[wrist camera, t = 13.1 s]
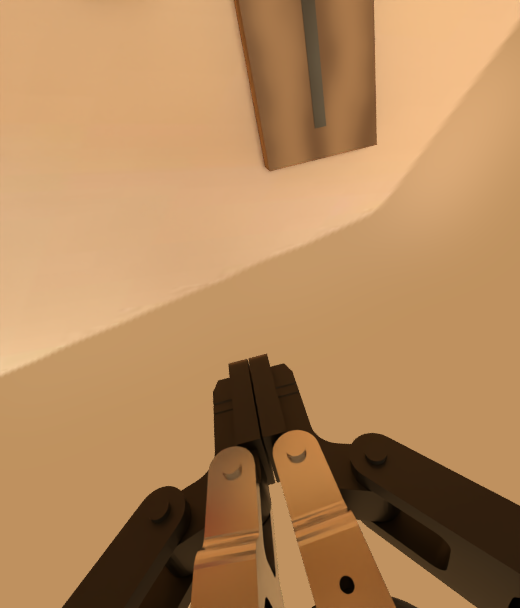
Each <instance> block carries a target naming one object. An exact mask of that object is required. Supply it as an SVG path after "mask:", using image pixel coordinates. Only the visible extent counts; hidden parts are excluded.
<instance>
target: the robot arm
mask: <svg viewBox="0 0 520 608" xmlns="http://www.w3.org/2000/svg"><path fill="white" fill-rule="evenodd" d="M249 364H250V366H249ZM229 375H230V378H227V379H223V380H219V381H218V382H217V384H216V387H215V389H214V391H213V404H214V435H215V436H214V437H215V457H214V459H213V460H212V462H211V464H210V467H209V470H208V472H207V473H206V474H205V475H204V476H203V477H202V478H201V479H199V480H198V481H196V482H195V483H193V484H191V485H190V486H188V487H186V488H185V489H184V490H182V491H180V490H179V489H178V488H175V487H172V486H166V487H162V488H159V489H157V490H155V491H153V492H152V493H151V494H149V495H148V496H147V497H146V499H145V500H144V501H143V502H142V503H141V505H140V506H139V507H138V509H137V510H136V511H135V512H134V514H133V515H132V516H131V518H130V519H129V520H128V522H127V523H126V524H125V526H124V527H123V528H122V530H121V531H120V532H119V534H118V535H117V536H116V537H115V539H114V540H113V541H112V543H111V544H110V545H109V547H108V548H107V549H106V551H105V552H104V553H103V555H102V556H101V557H100V558H99V560H98V561H97V563H96V564H95V565H94V566H93V568H92V569H91V571H90V572H89V573H88V574H87V576H86V577H85V578H84V580H83V581H82V582H81V583H80V585H79V586H78V588H77V589H76V590H75V591H74V593H73V594H72V595H71V597H70V598H69V599H68V601H67V602H66V603H65V605H64V606H63V607H62V608H188V606H189V604H190V602H191V607H190V608H284V603H283V597H282V592H281V588H280V582H279V574H278V564H277V554H276V544H275V533H274V523H273V513H272V508H271V498H270V493H269V487H268V485H270V484H274V483H275V480H274V475H273V471H274V474H275V477H276V481H277V482H281V486H282V489H283V493H284V496H285V500H286V503H287V507H288V510H289V514H290V517H291V521H292V524H293V528H294V532H295V535H296V539H297V542H298V546H299V549H300V553H301V556H302V560H303V563H304V567H305V570H306V574H307V577H308V581H309V584H310V588H311V591H312V595H313V598H314V601H315V606H313V607H312V608H417V607H415V606H413V605H411V604H409V603H408V602H405V601H403V600H400V599H397V598H394V597H391V596H390V593H389V591H388V589H387V587H386V584H385V582H384V580H383V578H382V576H381V573H380V571H379V569H378V567H377V565H376V562H375V560H374V558H373V556H372V553H371V551H370V549H369V547H368V544H367V542H366V540H365V538H364V536H363V533H362V531H361V529H360V527H359V525H358V523H357V520H361V521H362V522H363V523H364V524H365V525H366V526H367V527H369V528H370V529H372V530H373V531H374V532H375V533H377V534H378V535H379V536H381V537H382V538H384V539H385V540H386V541H388V542H389V543H390V544H392V545H393V546H394V547H396V548H397V549H398V550H400V551H401V552H403V553H404V554H405V555H407V556H408V557H409V558H411V559H412V560H413V561H415V562H416V563H417V564H419V565H420V566H422V567H423V568H424V569H426V570H427V571H428V572H430V573H431V574H432V575H434V576H435V577H436V578H438V579H439V580H441V581H442V582H443V583H445V584H446V585H447V586H449V587H450V588H451V589H453V590H454V591H456V592H457V593H458V594H460V595H461V596H462V597H464V598H465V599H466V600H468V601H469V602H470V603H472V604H473V605H475V606H476V607H477V608H520V506H519V505H517V504H515V503H513V502H511V501H510V500H508V499H506V498H504V497H502V496H500V495H498V494H496V493H494V492H492V491H490V490H488V489H487V488H485V487H482V486H480V485H479V484H477V483H475V482H473V481H471V480H469V479H467V478H465V477H463V476H462V475H460V474H458V473H456V472H454V471H451V470H450V469H448V468H446V467H444V466H442V465H440V464H438V463H437V462H435V461H433V460H431V459H429V458H427V457H425V456H423V455H421V454H419V453H417V452H415V451H414V450H411V449H410V448H408V447H406V446H404V445H402V444H400V443H398V442H396V441H394V440H392V439H390V438H388V437H386V436H384V435H381V434H376V433H368V434H364V435H361V436H359V437H358V438H356V439H355V440H354V441H353V443H352V444H338V443H331V442H328V441H325V440H323V439H321V438H320V437H318V436H317V435H316V434H315V433H314V431H313V430H312V427H311V425H310V422H309V419H308V416H307V413H306V410H305V407H304V405H303V402H302V399H301V396H300V393H299V390H298V387H297V384H296V381H295V378H294V375H293V372H292V371H291V370H290V369H289V368H288V367H287V366H286V365H285V364H280V365H276V366H272V367H270V364H269V360H268V357H267V354H264V355H260V356H256V357H252V358H249V362H248V360H247V359H245V360H241V361H237V362H234V363H230V364H229ZM272 468H273V469H272ZM356 519H357V520H356Z"/></svg>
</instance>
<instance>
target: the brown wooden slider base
mask: <svg viewBox="0 0 520 608" xmlns="http://www.w3.org/2000/svg"><path fill="white" fill-rule="evenodd" d="M234 3H235V8H236V13H237V19H238V24H239V29H240V35H241V40H242V45H243V51H244V56H245V61H246V67H247V72H248V77H249V83H250V88H251V93H252V99H253V104H254V109H255V115H256V120H257V125H258V131H259V136H260V141H261V147H262V152H263V158H264V163H265V167H266V168H267V169H268V170H269V171H273V170H277V169H281V168H285V167H289V166H293V165H297V164H301V163H305V162H309V161H313V160H317V159H321V158H325V157H329V156H333V155H337V154H341V153H345V152H349V151H353V150H357V149H361V148H365V147H369V146H373V145H377V134H376V85H375V36H374V0H234Z"/></svg>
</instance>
